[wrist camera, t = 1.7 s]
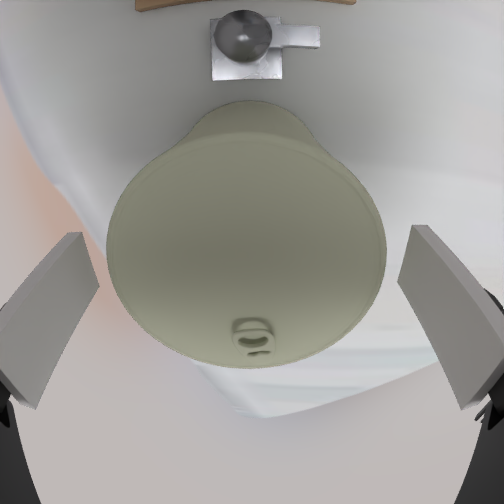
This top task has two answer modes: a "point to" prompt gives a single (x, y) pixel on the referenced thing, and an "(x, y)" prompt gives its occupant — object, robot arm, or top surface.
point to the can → (246, 242)
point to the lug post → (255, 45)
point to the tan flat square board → (143, 3)
